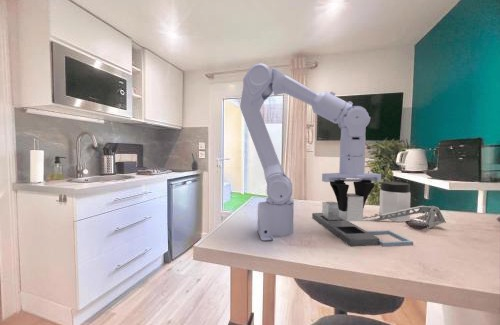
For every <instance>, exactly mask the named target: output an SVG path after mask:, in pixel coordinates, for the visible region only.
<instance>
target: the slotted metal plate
mask: <svg viewBox="0 0 500 325" xmlns="http://www.w3.org/2000/svg"><path fill="white" fill-rule="evenodd" d="M311 217H312V219H313V220H314V221H315V222H317V223H318V224H320V225H321V226H323V227H324V228H325V229H327V230H328V231H329V232H330V233H332V235H334V236H336V237H337V238H338V239H339V240H341V241H342V242H343V243H345V244H346V245H347V246H348V247H350V248H351V247H366V246H367V247H371V246H374V247H375V246H380V245H379V240H381V239H380V238H379V237H378V236H377V235H372V234H370V233H369V232H367V231H368V230H365V229H363V228H362V227H360V226H358V225H356V224H355V223H352V221H346V220H344V219H342V218H341V221H326V220H325V219H323V218H322V212H312V213H311Z"/></svg>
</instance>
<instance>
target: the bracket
mask: <svg viewBox="0 0 500 325" xmlns="http://www.w3.org/2000/svg"><path fill="white" fill-rule="evenodd" d="M417 209H418V210H417ZM404 211H406V212H405V214H404V213H402V212H404ZM409 212H410V213H409ZM398 213H401V214H400V215H398ZM392 214H395V215H394V216H392ZM417 214H424V216H423V219H422V221H421V223H422V222H425V223H424V225H425V224H428V225H429V226H427V228H426V229H431V228H434V227H436V226H438V225H441V224H445V223H447V222H446V219H445V217H444V215H443V213H442V212H441V210H440V208H439V207H437V206H434V205H429V206H427V205H418V206H414V207H410V208H409V209H404V210H400V211H395V212H391V213H386V214H382V215H379V213H375V214H374V215H368V216H363V220H364V219H369V222H377V221H378V222H379V221H384V220H389V219H390V218H396V217H401V216H407V215H410V216H411V215H417ZM388 215H390V217H388ZM383 216H385V217H383ZM435 216H436V218H435ZM370 218H373V219H370ZM427 222H428V223H427Z"/></svg>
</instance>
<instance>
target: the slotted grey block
mask: <svg viewBox="0 0 500 325" xmlns="http://www.w3.org/2000/svg"><path fill="white" fill-rule="evenodd" d="M321 209H322V210H321V213H322V218H323V219H325V220H326V221H341V218H340V217H339V208H338V203H337V201H322V205H321Z"/></svg>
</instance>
